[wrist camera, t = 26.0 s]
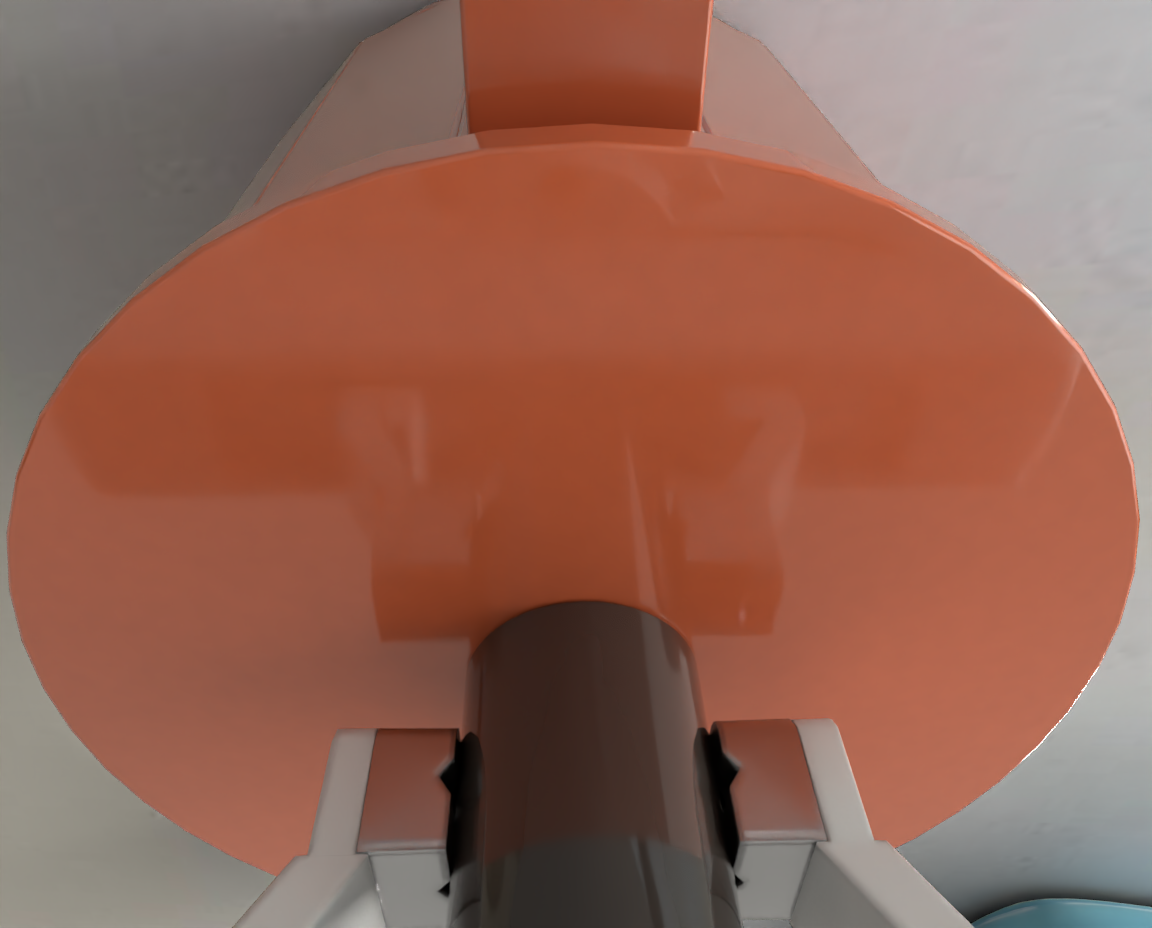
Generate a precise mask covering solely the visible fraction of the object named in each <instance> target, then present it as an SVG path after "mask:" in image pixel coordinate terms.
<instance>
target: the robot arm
mask: <svg viewBox="0 0 1152 928" xmlns="http://www.w3.org/2000/svg"><path fill="white" fill-rule="evenodd" d="M709 736H710V741H711V747H712V753H713V758H714V764H715V769H716V775H717V781H718V786H719V792H720V797H721V803H722V809H723V814H724V820H725V825H726V831H727V837H728V842H729V848H730V853H731V859H732V865H733V870H734V876H735V881H736V887H737V893H738V898H739V904H740V910H741V915H742V920H790V924H791V926H792V927H793V928H975V927H973V926H972V925H971V924H970V923H969V922H968V921H967V920H966V919H965V918H964V917H963V916H962V915H961V914H960V913H959V912H958V911H957V910H956V909H955V908H954V907H953V906H952V905H951V904H950V903H949V902H948V901H947V900H946V899H945V898H944V897H943V896H942V895H941V894H940V893H939V892H938V891H937V890H936V889H935V888H934V887H933V886H932V885H931V884H930V883H929V882H928V881H927V880H926V879H925V878H924V877H923V876H922V875H921V874H920V873H919V872H918V871H917V870H916V869H915V868H914V867H913V866H912V865H911V864H910V863H909V862H908V861H907V860H906V859H905V858H904V857H903V856H902V855H901V854H900V853H899V852H898V851H896V850H895V849H894V848H893V847H892V846H891V845H890V844H889V843H888V842H887V841H886V840H874V838H873V835H872V832H871V828H870V825H869V822H868V819H867V816H866V813H865V810H864V807H863V804H862V801H861V797H860V794H859V791H858V788H857V785H856V782H855V779H854V776H853V773H852V770H851V766H850V763H849V760H848V757H847V754H846V751H845V748H844V745H843V742H842V739H841V735H840V732H839V729H838V727H837V725H836V724H835V723H834V721H833V720H832V719H829V718H819V719H796V720H790V719H789V718H785V719H759V720H732V721H714V722H713V724H712V725H711V729H710V734H709ZM460 749H461V738H460V731H459V728H357V729H338V730H337V732H336V734H335V736H334V738H333V740H332V743H331V747H330V752H329V757H328V761H327V766H326V771H325V775H324V780H323V785H322V789H321V794H320V798H319V803H318V808H317V812H316V817H315V822H314V826H313V831H312V836H311V840H310V845H309V850H308V854H307V855H301V856H295V857H294V858H293V859H292V860H291V861H290V862H289V863H288V865H287V866H286V867H285V868H284V869H283V870H282V871H281V873H280V874H279V875H278V876H277V877H276V878H275V879H274V881H273V882H272V883H271V884H270V885H269V886H268V887H267V889H266V890H265V891H264V892H263V893H262V894H261V895H260V897H259V898H258V899H257V900H256V901H255V902H254V903H253V905H252V906H251V907H250V908H249V909H248V910H247V911H246V913H245V914H244V915H243V916H242V917H241V918H240V919H239V921H238V922H237V923H236V924H235V925H234V926H233V927H232V928H445V927H446V915H447V902H448V890H449V881H450V875H451V863H452V850H453V838H454V826H455V820H454V815H455V802H456V793H457V788H458V775H459V762H460Z"/></svg>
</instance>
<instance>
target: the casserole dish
mask: <svg viewBox="0 0 1152 928" xmlns="http://www.w3.org/2000/svg"><path fill="white" fill-rule="evenodd" d="M971 925H972V926H973V927H975V928H1152V907H1147V906H1140V905H1132V904H1125V903H1116V902H1108V901H1098V900H1086V899H1067V898H1062V899H1039V900H1032V901H1025V902H1020V903H1016V904H1013V905H1010V906H1007V907H1004V908H1002V909H1000V910H998V911H995V912H993V913H991V914H988V915H986V916H984V917H982V918H980V919H978V920H977V921H975V922H973V923H971Z"/></svg>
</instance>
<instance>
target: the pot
mask: <svg viewBox="0 0 1152 928" xmlns="http://www.w3.org/2000/svg"><path fill="white" fill-rule="evenodd" d="M713 5H714V0H440V1H438V2H435V3H432V4H430V5H427V6H425V7H424V8H422V9H420V10H418V11H416V12H415V13H413V14H411V15H409V16H408V17H406V18H404V19H402V20H400V21H399V22H397V23H395V24H393V25H392V26H390V27H388V28H387V29H385V30H383V31H381V32H379V33H377V34H374V35H372V36H370V37H368V38H366V39H365V40H364V41H363V42H360V43H359V44H358V45H357V46H356V48H355V49H354V50H353V51H352V53H351V54H350V55H349V56H348V58H347V59H346V60H345V61H344V62H343V64H342V65H341V66H340V67H339V69H338V70H337V71H336V72H335V74H334V75H333V76H332V77H331V79H330V80H329V81H328V82H327V83H326V84H325V85H324V86H323V88H322V89H321V90H320V92H319V93H318V95H317V96H316V97H315V98H314V100H313V101H312V102H311V103H310V104H309V106H308V107H307V108H306V109H305V111H304V112H303V113H302V114H301V116H300V117H299V118H298V119H297V121H296V122H295V123H294V124H293V125H292V127H291V128H290V129H289V130H288V132H287V133H286V134H285V135H284V137H283V138H282V139H281V140H280V142H279V143H278V145H277V146H276V147H275V149H274V150H273V152H272V153H271V155H270V156H269V157H268V159H267V160H266V162H265V163H264V165H263V166H262V167H261V169H260V170H259V172H258V173H257V175H256V176H255V177H254V179H253V180H252V182H251V183H250V185H249V186H248V187H247V189H246V190H245V192H244V193H243V195H242V196H241V197H240V199H239V200H238V202H237V203H236V205H235V206H234V207H233V209H232V210H231V212H230V213H229V214H228V216H227V217H226V219H225V220H224V221H226V220H228V219H229V218H231V217H233V216H235V215H237V214H239V213H241V212H243V211H245V210H247V209H248V208H250V207H252V206H254V205H256V204H258V203H260V202H262V201H264V200H266V199H267V198H269V197H271V196H273V195H275V194H277V193H279V192H281V191H283V190H285V189H286V188H288V187H290V186H292V185H294V184H296V183H298V182H301V181H304V180H307V179H310V178H312V177H315V176H318V175H321V174H324V173H327V172H329V171H332V170H335V169H338V168H341V167H344V166H347V165H349V164H352V163H355V162H358V161H361V160H364V159H366V158H369V157H372V156H375V155H378V154H381V153H383V152H386V151H389V150H394V149H399V148H404V147H409V146H414V145H419V144H424V143H429V142H434V141H439V140H443V139H448V138H453V137H458V136H463V135H468V134H473V133H478V132H483V131H488V130H501V129H516V128H532V127H547V126H563V125H578V124H606V125H621V126H635V127H649V128H664V129H678V130H692V131H699V132H704V133H708V134H713V135H718V136H723V137H727V138H732V139H737V140H742V141H746V142H751V143H756V144H761V145H765V146H770V147H775V148H780V149H784V150H789V151H793V152H796V153H798V154H801V155H804V156H807V157H809V158H812V159H815V160H818V161H820V162H823V163H826V164H828V165H831V166H834V167H837V168H839V169H842V170H845V171H848V172H850V173H853V174H856V175H858V176H861V177H864V178H867V179H869V180H872V181H875V182H878V183H880V182H879V181H878V180H877V179H876V177H875V176H874V175H873V174H872V173H871V171H870V170H869V169H868V168H867V167H866V165H865V164H864V163H863V162H862V161H861V159H860V158H859V157H858V156H857V155H856V153H855V152H854V151H853V150H852V149H851V147H850V146H849V145H848V144H847V143H846V141H845V140H844V139H843V138H842V137H841V136H840V134H839V133H838V132H837V131H836V130H835V128H834V127H833V126H832V125H831V124H830V122H829V121H828V120H827V119H826V118H825V116H824V115H823V114H822V113H821V112H820V110H819V109H818V108H817V107H816V106H815V104H814V103H813V102H812V101H811V100H810V98H809V97H808V96H807V95H806V94H805V92H804V91H803V90H802V89H801V88H800V86H799V85H798V84H797V83H796V82H795V81H794V79H793V78H792V77H791V76H790V75H789V73H788V72H787V71H786V70H785V69H784V67H783V66H782V65H781V64H780V63H779V61H778V60H777V59H776V58H775V57H774V55H773V54H772V53H771V52H770V51H769V49H768V48H767V47H766V46H764V45H763V44H762V43H761V42H760V41H759V40H757V39H755V38H753V37H751V36H748V35H746V34H744V33H742V32H740V31H738V30H736V29H734V28H733V27H731V26H729V25H727V24H726V23H724V22H722V21H721V20H719V19H717V18H715V17H714V16H712V15H713ZM880 184H881V183H880Z"/></svg>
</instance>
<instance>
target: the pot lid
mask: <svg viewBox="0 0 1152 928" xmlns="http://www.w3.org/2000/svg"><path fill="white" fill-rule="evenodd" d="M1139 521H1140V518H1139V509H1138V500H1137V490H1136V481H1135V472H1134V463H1133V459H1132V456H1131V453H1130V450H1129V446H1128V443H1127V440H1126V437H1125V434H1124V431H1123V428H1122V425H1121V422H1120V419H1119V416H1118V413H1117V410H1116V407H1115V404H1114V402H1113V400H1112V399H1111V397H1110V395H1109V394H1108V392H1107V390H1106V388H1105V387H1104V385H1103V383H1102V381H1101V380H1100V378H1099V376H1098V374H1097V373H1096V371H1095V369H1094V367H1093V366H1092V364H1091V362H1090V361H1089V359H1088V357H1087V355H1086V354H1085V352H1084V350H1083V348H1082V347H1081V346H1080V345H1079V344H1078V342H1077V341H1076V340H1075V339H1074V338H1073V337H1072V336H1071V335H1070V333H1069V332H1068V331H1067V330H1066V329H1065V328H1064V327H1063V325H1062V324H1061V323H1060V322H1059V321H1058V320H1057V319H1056V317H1055V316H1054V315H1053V314H1052V313H1051V312H1050V311H1049V309H1048V308H1047V307H1046V306H1045V305H1044V304H1043V303H1042V301H1041V300H1040V299H1039V298H1038V297H1037V296H1036V295H1035V293H1034V292H1033V291H1032V290H1031V289H1030V288H1029V287H1028V286H1027V285H1026V284H1025V283H1024V282H1023V281H1022V280H1021V279H1020V278H1019V277H1018V276H1017V275H1016V274H1015V273H1014V272H1013V271H1012V270H1011V269H1009V268H1008V267H1007V266H1006V265H1004V264H1003V263H1002V262H1001V261H999V260H998V259H997V258H996V257H994V256H993V255H992V254H990V253H989V252H988V251H987V250H985V249H984V248H983V247H982V246H980V245H979V244H978V243H977V242H975V241H974V240H973V239H972V238H970V237H969V236H968V235H967V234H965V233H964V232H963V231H961V230H960V229H959V228H958V227H956V226H955V225H954V224H952V223H950V222H949V221H947V220H945V219H943V218H941V217H940V216H938V215H936V214H934V213H932V212H930V211H929V210H927V209H925V208H923V207H921V206H920V205H918V204H916V203H914V202H912V201H911V200H909V199H907V198H905V197H903V196H902V195H900V194H898V193H896V192H894V191H892V190H891V189H889V188H887V187H885V186H883V185H882V184H880V183H878V182H875V181H872V180H869V179H867V178H864V177H861V176H858V175H856V174H853V173H850V172H848V171H845V170H842V169H839V168H837V167H834V166H831V165H828V164H826V163H823V162H820V161H818V160H815V159H812V158H809V157H807V156H804V155H801V154H798V153H796V152H793V151H789V150H784V149H780V148H775V147H770V146H765V145H761V144H756V143H751V142H746V141H742V140H737V139H732V138H727V137H723V136H718V135H713V134H708V133H704V132H699V131H692V130H678V129H664V128H649V127H635V126H621V125H606V124H578V125H563V126H547V127H532V128H516V129H501V130H488V131H483V132H478V133H473V134H468V135H463V136H458V137H453V138H448V139H443V140H439V141H434V142H429V143H424V144H419V145H414V146H409V147H404V148H399V149H394V150H389V151H386V152H383V153H381V154H378V155H375V156H372V157H369V158H366V159H364V160H361V161H358V162H355V163H352V164H349V165H347V166H344V167H341V168H338V169H335V170H332V171H329V172H327V173H324V174H321V175H318V176H315V177H312V178H310V179H307V180H304V181H301V182H298V183H296V184H294V185H292V186H290V187H288V188H286V189H285V190H283V191H281V192H279V193H277V194H275V195H273V196H271V197H269V198H267V199H266V200H264V201H262V202H260V203H258V204H256V205H254V206H252V207H250V208H248V209H247V210H245V211H243V212H241V213H239V214H237V215H235V216H233V217H231V218H229V219H228V220H226V221H224V222H222V223H220V224H218V225H216V226H215V227H213V228H212V229H211V230H209V231H208V232H207V233H205V234H204V235H203V236H201V237H200V238H199V239H197V240H196V241H195V242H193V243H192V244H191V245H189V246H188V247H187V248H185V249H184V250H183V251H181V252H180V253H179V254H177V255H176V256H175V257H173V258H172V259H171V260H169V261H168V262H167V263H165V264H164V265H163V266H161V267H160V268H159V269H157V270H156V271H155V272H153V273H152V274H151V275H149V276H148V277H147V278H146V279H145V280H144V281H143V282H142V283H141V285H140V286H139V287H138V288H137V289H136V290H135V291H134V292H133V293H132V294H131V295H130V296H129V297H128V298H127V299H126V300H125V301H124V302H123V304H122V305H121V306H120V307H119V308H118V309H117V310H116V311H115V312H114V313H113V314H112V315H111V316H110V317H109V318H108V319H107V320H106V321H105V322H104V324H103V325H102V326H101V327H100V328H99V329H98V330H97V331H96V332H95V333H94V335H93V336H92V337H91V338H90V340H89V341H88V342H87V343H86V345H85V346H84V347H83V349H82V350H81V351H80V352H79V354H78V355H77V356H76V358H75V360H74V361H73V363H72V364H71V366H70V367H69V369H68V370H67V372H66V374H65V375H64V377H63V378H62V380H61V381H60V383H59V384H58V386H57V387H56V389H55V391H54V392H53V394H52V395H51V397H50V398H49V400H48V401H47V403H46V404H45V406H44V408H43V409H42V411H41V412H40V414H39V416H38V419H37V421H36V424H35V427H34V429H33V432H32V434H31V437H30V439H29V442H28V445H27V447H26V450H25V452H24V455H23V457H22V460H21V462H20V465H19V468H18V470H17V473H16V478H15V484H14V490H13V496H12V502H11V508H10V514H9V520H8V526H7V555H8V578H9V591H10V596H11V600H12V604H13V608H14V612H15V616H16V620H17V624H18V628H19V632H20V636H21V640H22V643H23V645H24V647H25V649H26V651H27V654H28V656H29V658H30V660H31V663H32V665H33V667H34V669H35V671H36V674H37V676H38V678H39V680H40V682H41V685H42V687H43V689H44V690H45V692H46V693H47V695H48V696H49V698H50V699H51V701H52V702H53V704H54V705H55V707H56V708H57V710H58V711H59V713H60V714H61V716H62V717H63V719H64V720H65V722H66V723H67V725H68V726H69V728H70V729H71V731H72V732H73V733H74V734H75V735H76V736H77V738H78V739H79V740H80V741H81V742H82V743H83V744H84V745H85V746H86V748H87V749H88V750H89V751H90V752H91V753H92V754H93V755H94V757H95V758H96V759H97V760H98V761H99V762H100V763H101V764H102V766H103V767H104V768H105V769H106V770H107V771H109V772H110V773H111V774H112V775H113V776H114V777H115V778H117V779H118V780H119V781H120V782H121V783H122V784H124V785H125V786H126V787H127V788H128V789H129V790H130V791H132V792H133V793H134V794H135V795H136V796H137V797H138V798H140V799H141V800H142V801H143V802H144V803H146V804H147V805H149V806H150V807H152V808H153V809H154V810H156V811H157V812H159V813H160V814H162V815H163V816H165V817H166V818H167V819H169V820H170V821H172V822H173V823H175V824H176V825H178V826H179V827H180V828H182V829H183V830H185V831H186V832H188V833H190V834H192V835H194V836H195V837H197V838H199V839H201V840H202V841H204V842H206V843H208V844H210V845H211V846H213V847H215V848H217V849H219V850H220V851H222V852H224V853H226V854H228V855H229V856H232V857H234V858H236V859H238V860H240V861H243V862H245V863H247V864H249V865H252V866H254V867H256V868H258V869H261V870H263V871H265V872H267V873H270V874H272V875H274V876H276V877H277V876H278V875H279V874H280V873H281V871H282V870H283V869H284V868H285V867H286V866H287V865H288V863H289V862H290V861H291V860H292V859H293V858H294V857H295V856H301V855H307V854H308V850H309V845H310V840H311V836H312V831H313V826H314V822H315V817H316V812H317V808H318V803H319V798H320V794H321V789H322V785H323V780H324V775H325V771H326V766H327V761H328V757H329V752H330V747H331V743H332V740H333V738H334V736H335V734H336V732H337V730H338V729H357V728H459V731H460V738H461V749H460V762H459V775H458V788H457V793H456V802H455V815H454V820H455V826H454V838H453V850H452V863H451V875H450V881H449V890H448V902H447V915H446V927H445V928H744V926H743V921H742V915H741V910H740V904H739V898H738V893H737V887H736V881H735V876H734V870H733V865H732V859H731V853H730V848H729V842H728V837H727V831H726V825H725V820H724V814H723V809H722V803H721V797H720V792H719V786H718V781H717V775H716V769H715V764H714V758H713V753H712V747H711V741H710V736H709V734H710V729H711V725H712V724H713V722H714V721H732V720H759V719H785V718H789V719H790V720H796V719H819V718H829V719H832V720H833V721H834V723H835V724H836V725H837V727H838V729H839V732H840V735H841V739H842V742H843V745H844V748H845V751H846V754H847V757H848V760H849V763H850V766H851V770H852V773H853V776H854V779H855V782H856V785H857V788H858V791H859V794H860V797H861V801H862V804H863V807H864V810H865V813H866V816H867V819H868V822H869V825H870V828H871V832H872V835H873V838H874V840H886V841H887V842H888V843H889V844H890V845H891V846H892V847H893V848H894V849H895V848H897V847H899V846H901V845H903V844H905V843H907V842H909V841H911V840H913V839H915V838H917V837H918V836H920V835H922V834H923V833H925V832H927V831H928V830H930V829H932V828H933V827H935V826H937V825H938V824H940V823H941V822H943V821H945V820H946V819H948V818H950V817H951V816H953V815H955V814H956V813H958V812H959V811H961V810H962V809H964V808H965V807H966V806H968V805H969V804H970V803H972V802H973V801H974V800H976V799H977V798H978V797H980V796H981V795H983V794H984V793H985V792H987V791H988V790H989V789H991V788H992V787H993V786H995V785H996V784H997V783H999V782H1000V781H1001V780H1002V779H1003V778H1004V777H1006V776H1007V775H1008V774H1009V773H1010V772H1011V771H1012V770H1013V769H1014V768H1015V767H1017V766H1018V765H1019V764H1020V763H1021V762H1022V761H1023V760H1024V759H1025V758H1027V757H1028V756H1029V755H1030V754H1031V753H1032V752H1033V751H1034V750H1035V749H1036V748H1037V747H1038V746H1039V745H1040V744H1041V743H1042V742H1043V741H1044V739H1045V738H1046V737H1047V736H1048V735H1049V734H1050V733H1051V732H1052V730H1053V729H1054V728H1055V727H1056V726H1057V725H1058V724H1059V722H1060V721H1061V720H1062V719H1063V718H1064V717H1065V716H1066V714H1067V713H1068V712H1069V711H1070V710H1071V708H1072V707H1073V705H1074V704H1075V702H1076V701H1077V699H1078V698H1079V696H1080V695H1081V693H1082V692H1083V691H1084V689H1085V688H1086V686H1087V685H1088V683H1089V682H1090V680H1091V679H1092V677H1093V676H1094V674H1095V673H1096V671H1097V670H1098V668H1099V666H1100V664H1101V662H1102V660H1103V658H1104V656H1105V654H1106V652H1107V649H1108V647H1109V645H1110V643H1111V641H1112V639H1113V637H1114V635H1115V633H1116V630H1117V628H1118V626H1119V624H1120V622H1121V619H1122V615H1123V612H1124V608H1125V605H1126V601H1127V598H1128V594H1129V591H1130V587H1131V584H1132V580H1133V577H1134V573H1135V564H1136V554H1137V543H1138V532H1139Z"/></svg>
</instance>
